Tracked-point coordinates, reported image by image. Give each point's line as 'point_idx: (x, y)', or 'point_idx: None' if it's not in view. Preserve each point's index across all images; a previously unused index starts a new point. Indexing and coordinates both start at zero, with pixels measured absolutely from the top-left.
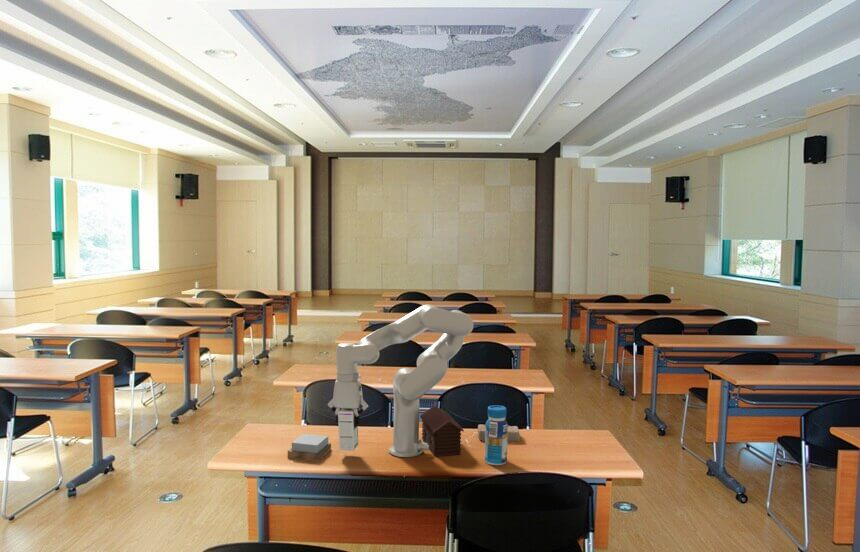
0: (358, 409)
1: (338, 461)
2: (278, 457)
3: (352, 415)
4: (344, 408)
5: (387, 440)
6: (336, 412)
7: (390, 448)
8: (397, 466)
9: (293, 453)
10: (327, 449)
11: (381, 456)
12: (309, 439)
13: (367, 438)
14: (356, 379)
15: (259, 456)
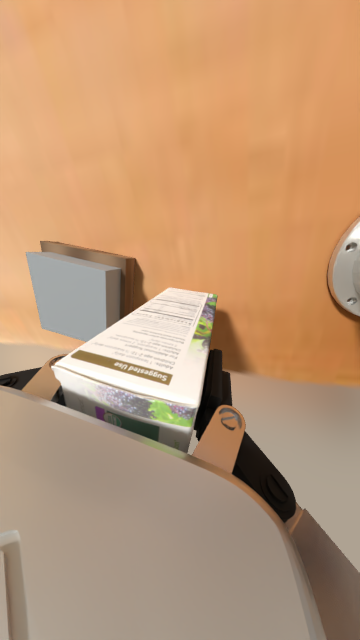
0: (221, 462)
1: None
2: None
3: None
4: (82, 408)
5: (351, 102)
6: (62, 402)
7: (340, 263)
8: (329, 373)
9: None
10: (129, 285)
11: (290, 307)
12: (67, 304)
13: (245, 94)
14: None
15: (20, 312)
